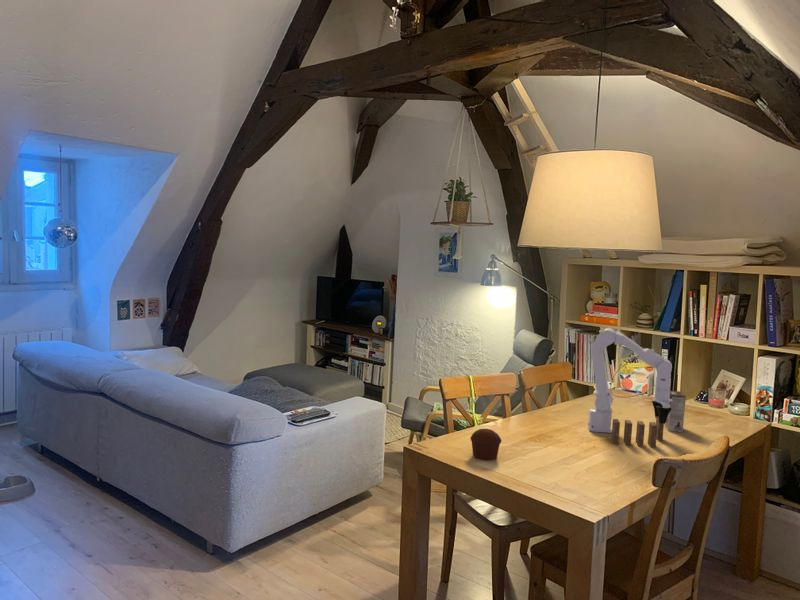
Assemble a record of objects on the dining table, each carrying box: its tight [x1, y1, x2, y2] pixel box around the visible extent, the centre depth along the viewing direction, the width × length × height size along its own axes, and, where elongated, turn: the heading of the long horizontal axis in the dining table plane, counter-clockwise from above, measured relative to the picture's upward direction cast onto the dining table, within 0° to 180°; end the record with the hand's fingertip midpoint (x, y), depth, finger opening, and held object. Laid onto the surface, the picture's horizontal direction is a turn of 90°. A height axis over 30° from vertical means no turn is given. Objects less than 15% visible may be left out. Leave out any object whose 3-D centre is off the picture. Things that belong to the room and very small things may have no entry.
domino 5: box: [655, 416, 665, 442], centre depth 264 cm, size 2×5×9 cm, turn 170°
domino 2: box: [622, 419, 633, 446], centre depth 257 cm, size 2×5×9 cm, turn 170°
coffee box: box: [664, 390, 687, 433], centre depth 280 cm, size 9×6×16 cm
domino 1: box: [610, 418, 621, 445], centre depth 258 cm, size 2×5×9 cm, turn 170°
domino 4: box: [647, 421, 657, 448], centre depth 255 cm, size 2×5×9 cm, turn 170°
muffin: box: [470, 428, 502, 461], centre depth 235 cm, size 12×11×10 cm
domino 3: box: [635, 420, 646, 447], centre depth 256 cm, size 2×5×9 cm, turn 170°
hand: (660, 420), depth 264 cm, fingers open, 7 cm apart
